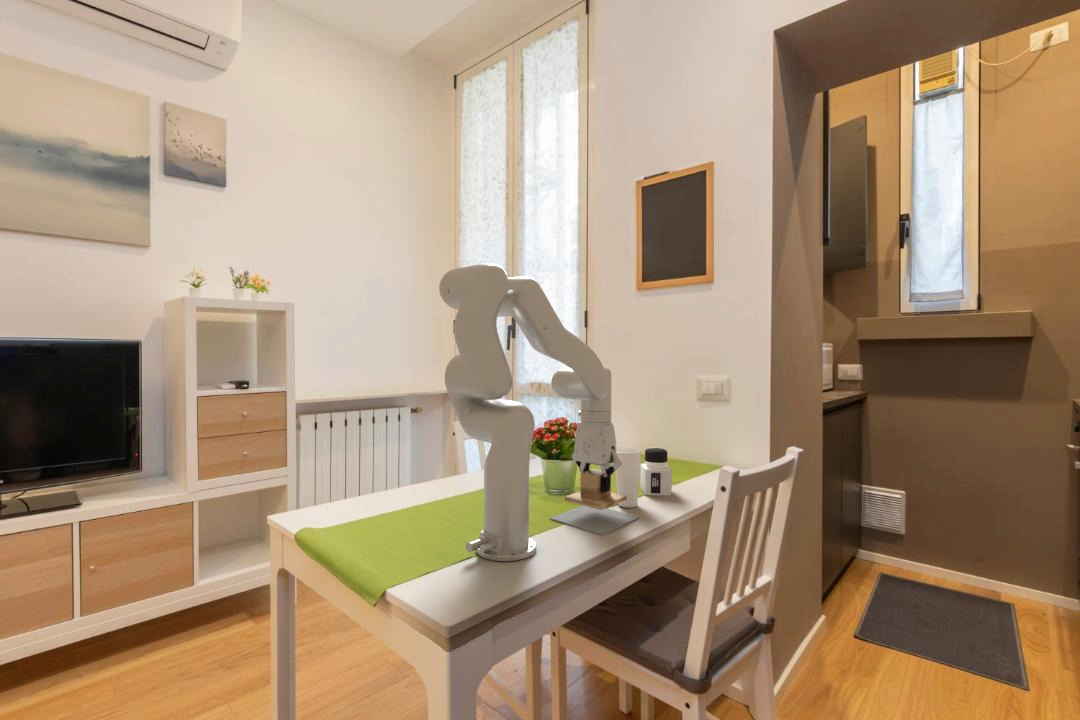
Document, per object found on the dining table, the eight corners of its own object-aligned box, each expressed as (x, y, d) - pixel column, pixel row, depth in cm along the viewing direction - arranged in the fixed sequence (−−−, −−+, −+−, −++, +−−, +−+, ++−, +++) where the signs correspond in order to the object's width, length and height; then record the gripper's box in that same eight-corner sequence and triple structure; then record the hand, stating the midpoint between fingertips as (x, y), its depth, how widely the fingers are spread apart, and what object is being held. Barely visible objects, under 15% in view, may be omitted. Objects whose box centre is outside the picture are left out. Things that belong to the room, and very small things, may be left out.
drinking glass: (639, 502, 144) (639, 448, 143) (641, 509, 137) (642, 453, 137) (614, 501, 144) (614, 447, 144) (615, 508, 138) (616, 452, 137)
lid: (601, 510, 122) (601, 480, 122) (564, 500, 129) (564, 472, 129) (626, 499, 130) (626, 472, 130) (591, 491, 137) (591, 465, 137)
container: (671, 496, 150) (672, 451, 150) (645, 495, 150) (645, 451, 150) (665, 488, 158) (666, 446, 157) (640, 488, 158) (640, 446, 158)
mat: (602, 535, 118) (602, 533, 118) (549, 519, 129) (549, 517, 129) (639, 518, 130) (639, 516, 130) (588, 505, 141) (588, 503, 141)
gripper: (560, 415, 132) (560, 486, 132) (616, 422, 120) (616, 499, 121) (578, 412, 137) (578, 480, 138) (633, 418, 126) (633, 492, 127)
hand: (595, 488), depth 129 cm, fingers closed on lid, 5 cm apart
